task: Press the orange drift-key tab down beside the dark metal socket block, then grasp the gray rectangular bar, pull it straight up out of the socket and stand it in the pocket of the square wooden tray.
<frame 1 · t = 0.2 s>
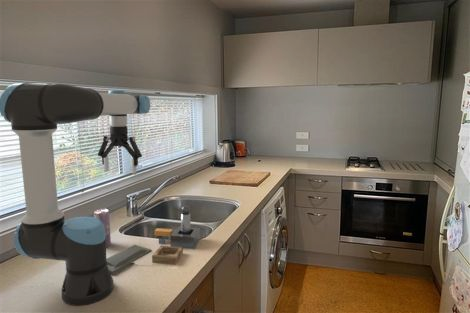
hand: (120, 172, 149), 28 cm above the countertop, fingers open, 13 cm apart
socket block: (185, 245, 139), on the countertop
square wooden tray: (167, 260, 125), on the countertop
gray rectangular bar: (185, 242, 139), point 1 cm above the countertop, touching socket block
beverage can: (103, 245, 137), on the countertop
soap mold: (125, 262, 125), on the countertop
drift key: (163, 232, 139), point 5 cm above the countertop, slide at 0.0 cm
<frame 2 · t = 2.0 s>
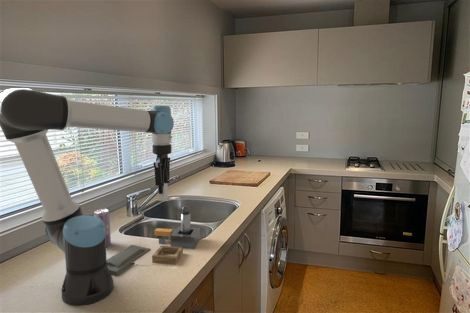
hand: (163, 199, 137), 20 cm above the countertop, fingers open, 3 cm apart
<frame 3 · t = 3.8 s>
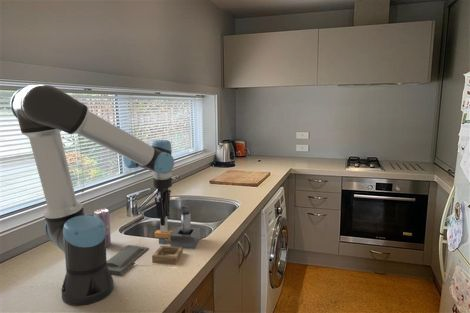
hand: (164, 231, 139), 5 cm above the countertop, fingers closed
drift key: (163, 234, 139), point 4 cm above the countertop, slide at 0.9 cm, touching gripper
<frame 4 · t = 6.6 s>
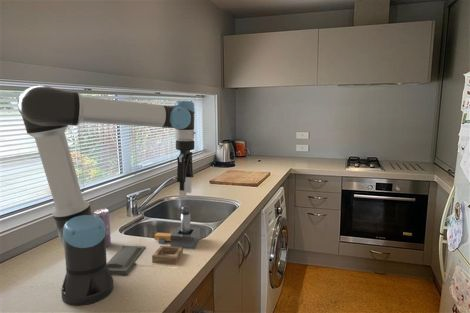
hand: (185, 194, 135), 22 cm above the countertop, fingers open, 7 cm apart
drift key: (163, 236, 139), point 3 cm above the countertop, slide at 2.0 cm
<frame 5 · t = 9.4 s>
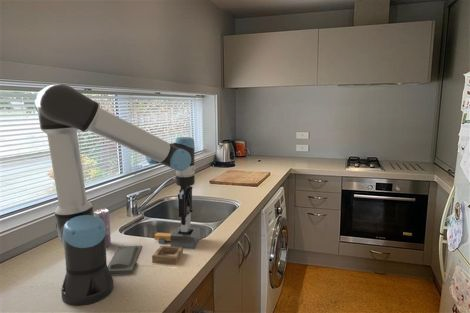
hand: (185, 229, 137), 7 cm above the countertop, fingers closed on gray rectangular bar, 4 cm apart
gray rectangular bar: (185, 242, 139), point 1 cm above the countertop, touching gripper, socket block
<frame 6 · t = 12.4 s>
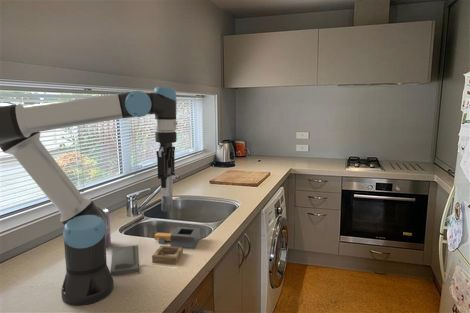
hand: (166, 193, 121), 26 cm above the countertop, fingers closed on gray rectangular bar, 4 cm apart
gray rectangular bar: (167, 209, 122), point 20 cm above the countertop, touching gripper
when the fingers open (8 cm above the countertop, at t = 15.1 s): gray rectangular bar drops 1 cm, resting on square wooden tray.
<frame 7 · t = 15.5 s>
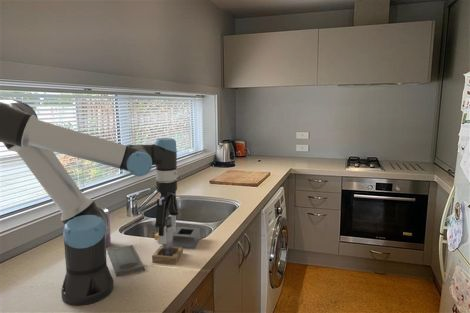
hand: (167, 237, 124), 9 cm above the countertop, fingers open, 10 cm apart
gray rectangular bar: (167, 258, 125), point 1 cm above the countertop, touching square wooden tray
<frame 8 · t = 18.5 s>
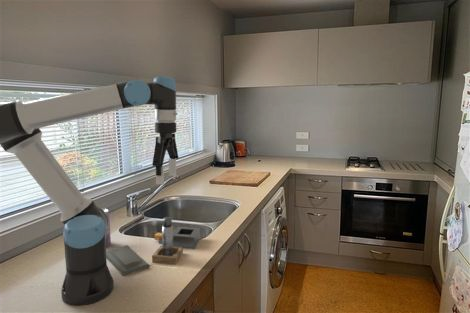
hand: (166, 179, 120), 32 cm above the countertop, fingers open, 13 cm apart
at the end: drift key slide at 2.0 cm; gray rectangular bar 0.0 cm off-centre on the square wooden tray, point 0.8 cm above the square wooden tray's base; gray rectangular bar tilted 0° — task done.
